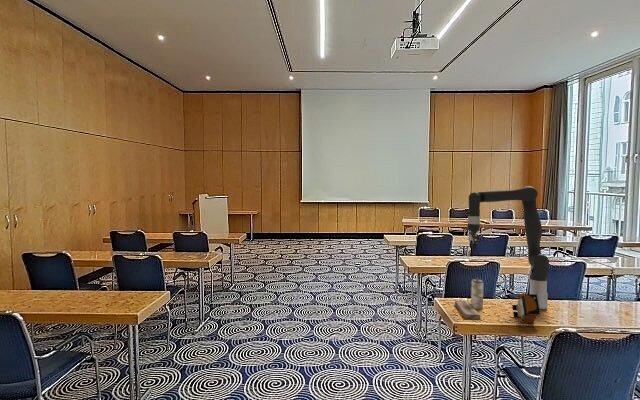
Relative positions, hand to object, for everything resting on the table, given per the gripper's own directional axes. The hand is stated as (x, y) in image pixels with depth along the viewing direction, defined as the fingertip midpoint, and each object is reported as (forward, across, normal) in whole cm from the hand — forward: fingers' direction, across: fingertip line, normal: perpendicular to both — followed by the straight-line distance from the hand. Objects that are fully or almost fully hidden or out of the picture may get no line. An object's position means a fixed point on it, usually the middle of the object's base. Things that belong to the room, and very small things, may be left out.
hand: (472, 248), depth 274 cm
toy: (+34, -39, -20) cm, 55 cm away
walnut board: (+34, -24, +8) cm, 43 cm away
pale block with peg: (+34, -14, 0) cm, 37 cm away
